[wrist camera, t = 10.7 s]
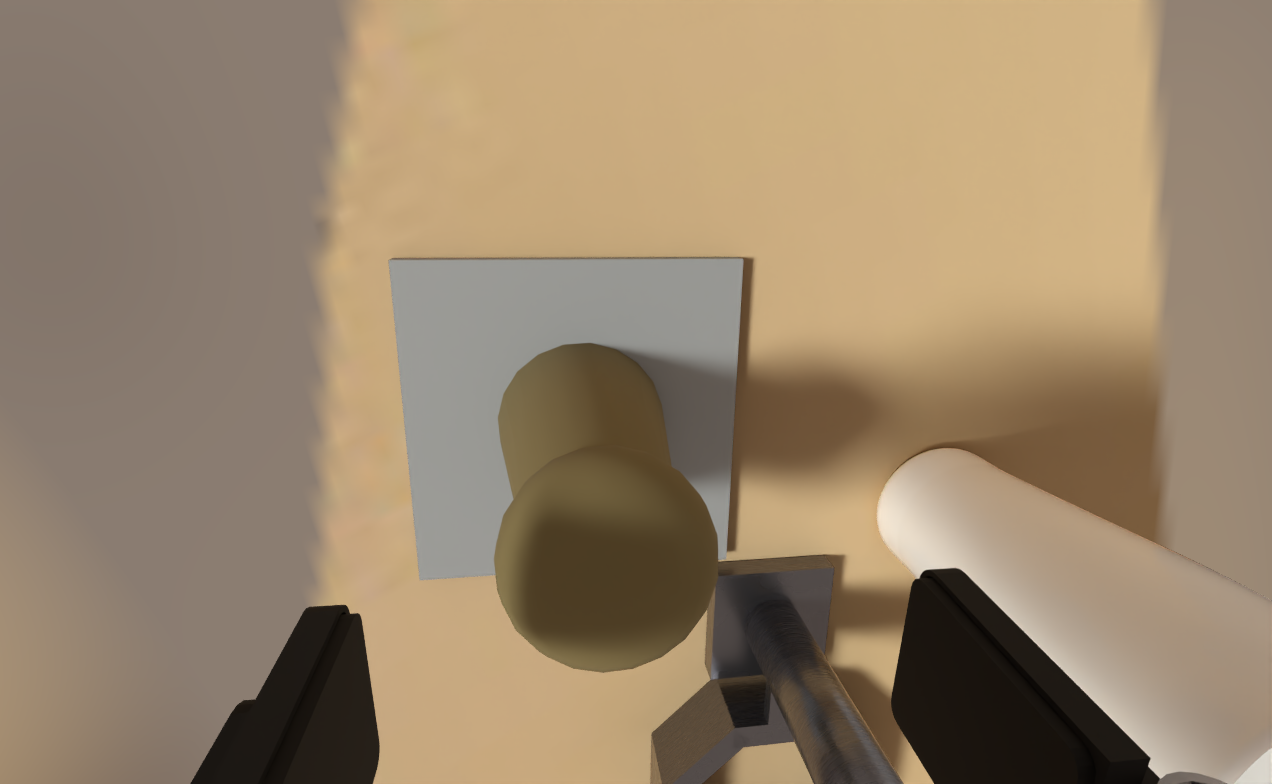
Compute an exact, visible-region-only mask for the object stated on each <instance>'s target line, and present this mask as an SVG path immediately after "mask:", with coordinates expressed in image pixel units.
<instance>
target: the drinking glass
mask: <svg viewBox="0 0 1272 784" xmlns="http://www.w3.org/2000/svg"><path fill="white" fill-rule="evenodd" d="M877 525H878V529H879V533H880V535H881V538H882V540H883V541H884V543H885V545H886V546H887V548H888V549H889V550H890V551H891V552H892V554H893V555H894V556H895V557H896V558H897V559H898V560H899V561H900V562H901V563H902V564H903V565H904V566H905V567H906V568H907V569H908V570H909V571H910V572H911V574H912V575H913V576H914V577H915V579H919V578H920V575H921V574H922V572H923V571H925V570H929V569H946V568H958V569H961V570H962V571H963V572H965V573H966V574H967V575H968V576H969V577H970V578H971V579H972V580H973V581H974V582H975V583H976V584H977V585H978V586H979V587H980V588H981V589H982V590H983V591H984V592H985V593H986V594H987V595H988V596H989V597H990V598H991V599H992V600H993V601H994V602H995V603H996V604H997V605H998V606H999V607H1000V608H1001V609H1002V610H1003V611H1004V612H1005V613H1006V614H1007V615H1008V616H1009V617H1010V618H1011V619H1012V620H1013V621H1014V622H1015V623H1016V624H1017V625H1018V626H1019V627H1020V628H1021V629H1022V630H1023V631H1024V632H1025V633H1026V634H1027V635H1028V636H1029V637H1030V638H1031V639H1032V640H1033V641H1034V642H1035V643H1036V644H1037V645H1038V646H1039V647H1040V648H1041V649H1042V650H1043V651H1044V652H1045V653H1046V654H1047V655H1048V656H1049V657H1050V658H1051V659H1052V660H1053V661H1054V662H1055V663H1056V664H1057V665H1058V666H1059V667H1060V668H1061V669H1062V670H1063V671H1064V672H1065V673H1066V674H1067V675H1068V676H1069V677H1070V678H1071V679H1072V680H1073V681H1074V682H1075V683H1076V684H1077V685H1078V686H1079V687H1080V688H1081V689H1082V690H1083V691H1084V692H1085V693H1086V694H1087V695H1088V696H1089V697H1090V698H1091V699H1092V700H1093V701H1094V702H1095V703H1096V704H1097V705H1098V706H1099V707H1100V708H1101V709H1102V710H1103V711H1104V712H1105V713H1106V714H1107V715H1108V716H1109V717H1110V718H1111V719H1112V720H1113V721H1114V722H1115V723H1116V724H1117V725H1118V726H1119V727H1120V728H1121V729H1122V730H1123V731H1124V732H1125V733H1126V734H1127V735H1128V736H1129V737H1130V738H1131V739H1132V740H1133V741H1134V742H1135V743H1136V744H1137V745H1138V746H1139V747H1140V748H1141V749H1142V750H1143V751H1144V752H1145V753H1146V754H1147V755H1148V756H1149V757H1150V758H1151V759H1150V762H1149V765H1148V767H1149V768H1150V769H1151V770H1152V771H1153V772H1154V773H1155V774H1156V775H1157V776H1158V777H1159V778H1160V779H1161V778H1163V777H1164V776H1165V775H1166V774H1170V773H1175V772H1179V771H1180V772H1191V773H1198V774H1202V775H1205V776H1209V777H1212V778H1215V779H1218V780H1220V781H1223V782H1225V783H1227V784H1272V600H1270V599H1268V598H1266V597H1264V596H1262V595H1261V594H1259V593H1257V592H1255V591H1253V590H1251V589H1249V588H1247V587H1245V586H1243V585H1241V584H1240V583H1237V582H1236V581H1234V580H1232V579H1230V578H1228V577H1226V576H1223V575H1222V574H1220V573H1218V572H1216V571H1214V570H1212V569H1210V568H1208V567H1206V566H1204V565H1201V564H1199V563H1197V562H1195V561H1193V560H1191V559H1189V558H1187V557H1185V556H1183V555H1181V554H1178V553H1176V552H1174V551H1172V550H1170V549H1168V548H1166V547H1163V546H1161V545H1159V544H1157V543H1155V542H1153V541H1151V540H1148V539H1146V538H1144V537H1142V536H1140V535H1138V534H1135V533H1133V532H1131V531H1129V530H1127V529H1125V528H1123V527H1120V526H1118V525H1116V524H1114V523H1112V522H1110V521H1108V520H1105V519H1103V518H1101V517H1099V516H1097V515H1095V514H1093V513H1091V512H1088V511H1086V510H1084V509H1082V508H1080V507H1078V506H1076V505H1074V504H1071V503H1069V502H1067V501H1065V500H1063V499H1061V498H1059V497H1057V496H1054V495H1052V494H1050V493H1048V492H1046V491H1044V490H1042V489H1040V488H1038V487H1036V486H1033V485H1031V484H1029V483H1027V482H1025V481H1023V480H1021V479H1019V478H1017V477H1015V476H1013V475H1011V474H1009V473H1007V472H1005V471H1003V470H1001V469H999V468H998V467H996V466H994V465H993V464H991V463H989V462H988V461H986V460H984V459H983V458H981V457H979V456H977V455H975V454H973V453H971V452H968V451H965V450H961V449H955V448H939V449H933V450H929V451H926V452H923V453H921V454H918V455H916V456H914V457H913V458H911V459H909V460H908V461H906V462H905V463H904V464H902V465H901V466H900V467H899V468H898V469H897V470H896V471H895V472H894V473H893V474H892V476H891V477H890V478H889V480H888V481H887V483H886V484H885V486H884V488H883V490H882V492H881V495H880V498H879V501H878V506H877Z"/></svg>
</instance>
